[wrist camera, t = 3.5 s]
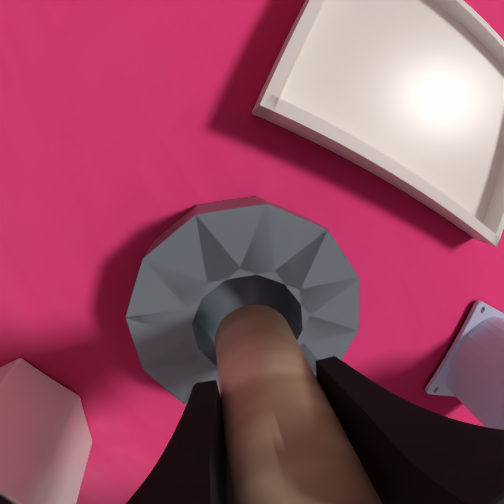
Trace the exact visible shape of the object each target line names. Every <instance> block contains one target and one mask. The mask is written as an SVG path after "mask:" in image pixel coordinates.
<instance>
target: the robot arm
mask: <svg viewBox="0 0 504 504" xmlns="http://www.w3.org/2000/svg"><path fill="white" fill-rule="evenodd" d="M316 378H317V380H318V382H319V384H320V386H321V388H322V389H323V391H324V393H325V395H326V397H327V399H328V401H329V403H330V405H331V407H332V409H333V410H334V412H335V414H336V416H337V418H338V420H339V422H340V424H341V426H342V428H343V430H344V431H345V433H346V435H347V437H348V439H349V441H350V443H351V445H352V447H353V449H354V450H355V452H356V454H357V456H358V458H359V460H360V462H361V464H362V466H363V468H364V470H365V471H366V473H367V475H368V477H369V479H370V481H371V483H372V485H373V487H374V489H375V490H376V492H377V494H378V496H379V498H380V500H381V502H382V504H504V313H502V312H500V311H499V310H497V309H495V308H493V307H491V306H489V305H487V304H486V303H484V302H482V301H480V300H478V301H476V302H475V303H474V305H473V307H472V309H471V311H470V313H469V315H468V317H467V318H466V320H465V322H464V324H463V326H462V328H461V330H460V332H459V333H458V335H457V337H456V339H455V341H454V342H453V344H452V346H451V348H450V349H449V351H448V353H447V354H446V356H445V358H444V359H443V361H442V363H441V364H440V366H439V367H438V369H437V371H436V372H435V374H434V375H433V377H432V378H431V380H430V381H429V383H428V384H427V386H426V388H425V391H426V393H427V394H432V395H442V396H452V397H457V398H458V399H459V400H460V402H461V403H462V404H463V405H464V406H465V407H466V408H467V409H468V410H469V411H470V412H471V413H472V414H473V415H474V416H475V417H476V418H477V419H478V420H479V421H480V422H481V423H482V424H483V425H484V426H485V427H483V426H478V425H473V424H469V423H465V422H461V421H458V420H454V419H451V418H448V417H444V416H442V415H439V414H436V413H434V412H431V411H429V410H426V409H423V408H421V407H419V406H417V405H414V404H412V403H410V402H408V401H406V400H404V399H402V398H400V397H398V396H396V395H395V394H393V393H391V392H389V391H387V390H386V389H384V388H382V387H381V386H379V385H377V384H376V383H374V382H373V381H371V380H369V379H368V378H366V377H365V376H363V375H362V374H360V373H359V372H357V371H356V370H354V369H353V368H351V367H350V366H349V365H347V364H346V363H344V362H343V361H341V360H340V359H338V358H337V357H335V356H333V357H329V358H325V359H320V360H316ZM126 504H233V498H232V491H231V484H230V476H229V469H228V461H227V453H226V444H225V436H224V427H223V416H222V407H221V398H220V394H219V390H218V386H217V382H216V380H213V381H206V382H199V383H195V385H194V386H193V388H192V391H191V394H190V397H189V400H188V403H187V405H186V407H185V410H184V412H183V415H182V417H181V419H180V421H179V423H178V425H177V428H176V430H175V432H174V434H173V436H172V438H171V439H170V441H169V443H168V445H167V447H166V448H165V450H164V452H163V454H162V455H161V457H160V459H159V460H158V462H157V464H156V465H155V467H154V468H153V470H152V471H151V473H150V474H149V475H148V477H147V478H146V480H145V481H144V482H143V484H142V485H141V486H140V487H139V489H138V490H137V491H136V492H135V494H134V495H133V496H132V497H131V498H130V500H129V501H128V502H127V503H126Z"/></svg>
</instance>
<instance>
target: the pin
mask: <svg viewBox="0 0 504 504" xmlns="http://www.w3.org/2000/svg"><path fill="white" fill-rule="evenodd" d="M215 347H216V358H217V369H218V380H219V390H220V398H221V407H222V416H223V427H224V436H225V444H226V453H227V461H228V469H229V476H230V484H231V491H232V498H233V504H382V502H381V500H380V498H379V496H378V494H377V492H376V490H375V489H374V487H373V485H372V483H371V481H370V479H369V477H368V475H367V473H366V471H365V470H364V468H363V466H362V464H361V462H360V460H359V458H358V456H357V454H356V452H355V450H354V449H353V447H352V445H351V443H350V441H349V439H348V437H347V435H346V433H345V431H344V430H343V428H342V426H341V424H340V422H339V420H338V418H337V416H336V414H335V412H334V410H333V409H332V407H331V405H330V403H329V401H328V399H327V397H326V395H325V393H324V391H323V389H322V388H321V386H320V384H319V382H318V380H317V378H316V376H315V374H314V372H313V370H312V368H311V367H310V365H309V363H308V361H307V359H306V357H305V355H304V353H303V351H302V349H301V347H300V346H299V344H298V342H297V340H296V338H295V336H294V334H293V332H292V330H291V328H290V326H289V325H288V323H287V321H286V319H285V318H284V316H283V315H282V314H281V313H279V312H278V311H277V310H275V309H273V308H270V307H268V306H264V305H248V306H244V307H241V308H238V309H236V310H234V311H232V312H231V313H229V314H228V315H227V316H226V317H225V318H224V319H223V320H222V321H221V323H220V324H219V326H218V328H217V331H216V335H215Z"/></svg>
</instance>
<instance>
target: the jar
mask: <svg viewBox="0 0 504 504" xmlns="http://www.w3.org/2000/svg"><path fill="white" fill-rule="evenodd" d="M91 446H92V438H91V435H90V432H89V428H88V425H87V421H86V418H85V414H84V410H83V406H82V402H81V398H80V396H79V395H77V394H76V393H74V392H72V391H71V390H69V389H67V388H66V387H64V386H63V385H61V384H59V383H58V382H56V381H55V380H53V379H52V378H50V377H48V376H47V375H45V374H44V373H42V372H41V371H39V370H38V369H37V368H35V367H34V366H32V365H31V364H29V363H28V362H27V361H25V360H24V359H22V358H18V359H16V360H14V361H12V362H10V363H8V364H6V365H4V366H2V367H0V504H76V503H77V499H78V495H79V491H80V487H81V483H82V479H83V475H84V471H85V467H86V464H87V460H88V456H89V453H90V449H91Z"/></svg>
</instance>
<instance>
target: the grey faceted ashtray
mask: <svg viewBox="0 0 504 504" xmlns="http://www.w3.org/2000/svg"><path fill="white" fill-rule="evenodd" d="M248 305H264V306H268V307H270V308H273V309H275V310H277V311H278V312H279V313H281V314H282V315H283V316H284V318H285V319H286V321H287V323H288V325H289V326H290V328H291V330H292V332H293V334H294V336H295V338H296V340H297V342H298V344H299V346H300V347H301V349H302V351H303V353H304V355H305V357H306V359H307V361H308V363H309V365H310V367H311V368H312V370H313V372H314V374H315V376H316V360H320V359H325V358H329V357H333V356H335V357H337V358H338V359H340V360H342V358H343V356H344V354H345V353H346V351H347V349H348V348H349V346H350V344H351V342H352V340H353V339H354V337H355V335H356V333H357V332H358V318H359V277H358V275H357V274H356V272H355V271H354V269H353V268H352V266H351V264H350V263H349V261H348V260H347V258H346V257H345V255H344V254H343V252H342V250H341V249H340V247H339V246H338V244H337V243H336V241H335V240H334V238H333V237H332V235H331V234H330V232H329V231H328V229H326V228H324V227H323V226H321V225H319V224H317V223H315V222H314V221H312V220H310V219H308V218H306V217H304V216H302V215H299V214H297V213H295V212H292V211H290V210H288V209H285V208H283V207H280V206H278V205H276V204H273V203H271V202H268V201H266V200H264V199H261V198H259V197H256V196H251V197H244V198H237V199H230V200H223V201H217V202H211V203H204V204H198V205H196V206H195V207H194V208H193V209H191V210H190V211H189V212H188V213H186V214H185V215H184V216H183V217H182V218H180V219H179V220H178V221H177V222H176V223H174V224H173V225H172V226H171V227H170V228H168V229H167V230H166V231H165V232H164V233H162V234H161V235H160V236H159V237H158V238H157V239H155V240H154V241H153V243H152V244H151V246H150V248H149V249H148V251H147V253H146V254H145V256H144V258H143V260H142V263H141V266H140V269H139V273H138V276H137V279H136V283H135V286H134V289H133V293H132V296H131V300H130V303H129V307H128V310H127V314H126V320H127V324H128V327H129V330H130V333H131V336H132V339H133V342H134V345H135V348H136V351H137V354H138V357H139V360H140V363H141V366H142V369H143V370H144V371H145V372H146V373H147V374H149V375H150V376H151V377H152V378H153V379H154V380H155V381H157V382H158V383H159V384H160V385H161V386H163V387H164V388H165V389H166V390H167V391H168V392H170V393H171V394H172V395H173V396H175V397H176V398H177V399H178V400H180V401H181V402H182V403H183V404H187V403H188V400H189V397H190V394H191V391H192V388H193V386H194V385H195V383H199V382H206V381H213V380H216V382H217V386H218V390H219V380H218V369H217V358H216V347H215V335H216V331H217V328H218V326H219V324H220V323H221V321H222V320H223V319H224V318H225V317H226V316H227V315H228V314H229V313H231V312H232V311H234V310H236V309H238V308H241V307H244V306H248ZM219 394H220V390H219Z"/></svg>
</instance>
